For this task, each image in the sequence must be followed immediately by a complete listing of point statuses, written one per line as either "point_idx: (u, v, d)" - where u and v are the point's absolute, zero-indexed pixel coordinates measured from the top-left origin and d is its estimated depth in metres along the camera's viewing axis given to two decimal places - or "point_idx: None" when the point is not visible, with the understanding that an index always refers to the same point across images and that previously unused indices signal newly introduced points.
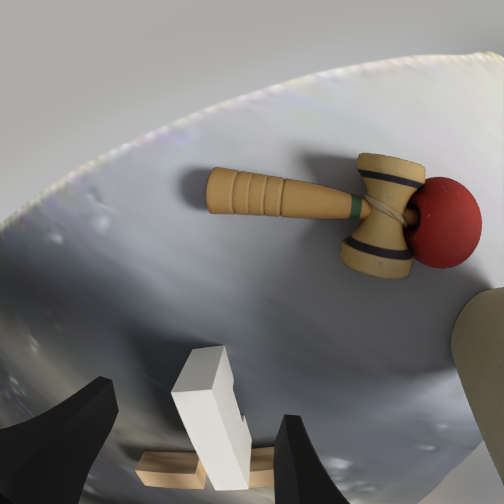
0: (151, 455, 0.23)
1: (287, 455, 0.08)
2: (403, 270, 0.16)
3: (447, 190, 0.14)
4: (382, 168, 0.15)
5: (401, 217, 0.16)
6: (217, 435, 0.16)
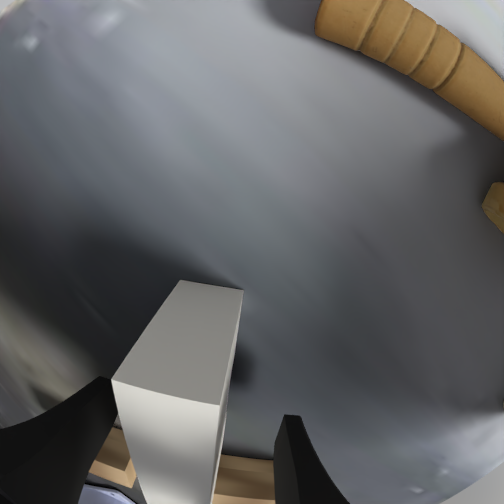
0: None
1: (287, 455, 0.08)
2: None
3: None
4: None
5: None
6: (191, 475, 0.07)
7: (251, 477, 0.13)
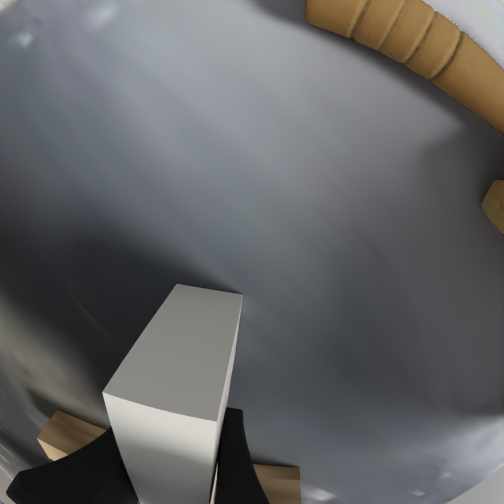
0: (66, 421, 0.14)
1: (220, 448, 0.08)
2: None
3: None
4: None
5: None
6: (188, 488, 0.06)
7: None
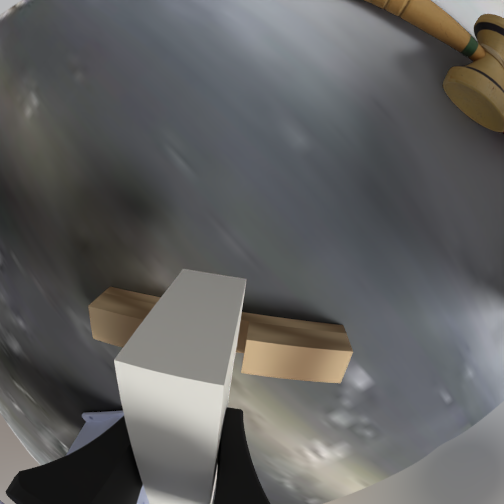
0: (119, 293, 0.18)
1: (220, 448, 0.08)
2: None
3: None
4: (503, 25, 0.08)
5: None
6: (192, 464, 0.07)
7: (304, 332, 0.17)
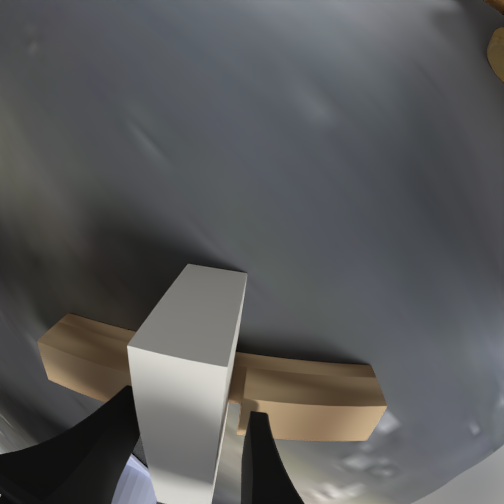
0: (78, 323, 0.13)
1: (249, 452, 0.08)
2: None
3: None
4: None
5: None
6: (197, 446, 0.08)
7: (322, 381, 0.12)
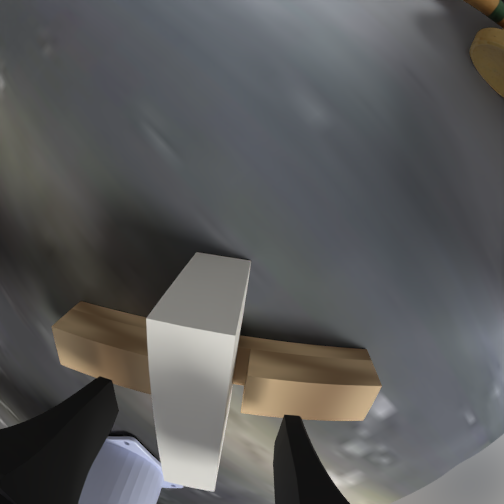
0: (91, 310, 0.14)
1: (287, 455, 0.08)
2: None
3: None
4: None
5: None
6: (205, 417, 0.09)
7: (320, 362, 0.13)
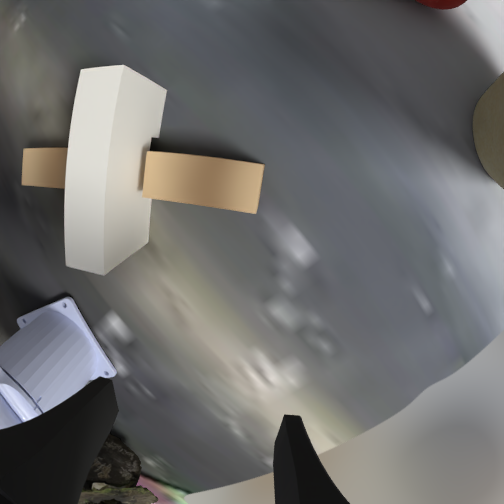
0: (54, 147, 0.17)
1: (287, 455, 0.08)
2: None
3: None
4: None
5: None
6: (98, 142, 0.11)
7: (213, 157, 0.16)
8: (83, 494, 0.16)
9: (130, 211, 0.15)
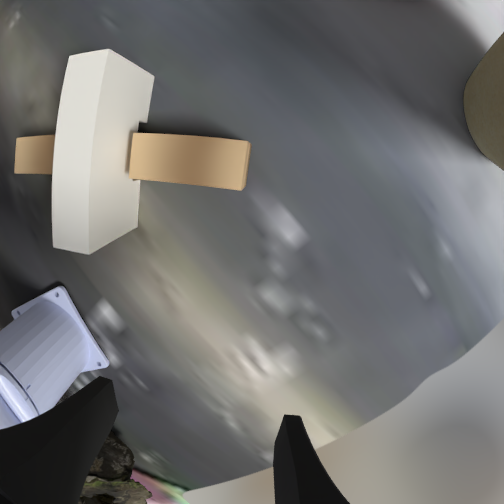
0: None
1: (287, 455, 0.08)
2: None
3: None
4: None
5: None
6: (84, 122, 0.11)
7: None
8: None
9: (117, 193, 0.15)
